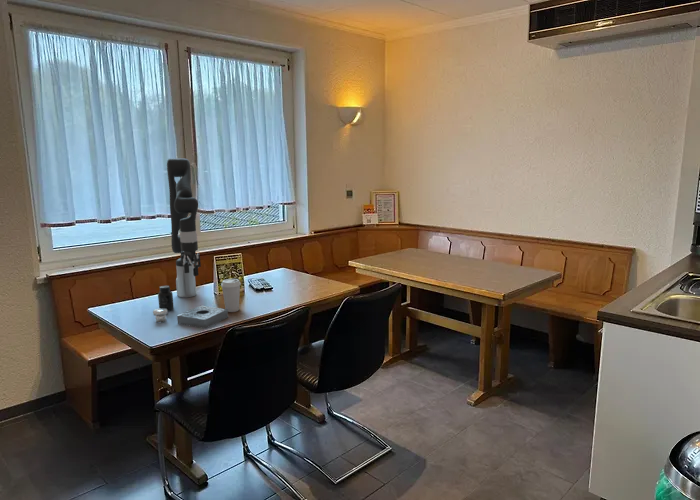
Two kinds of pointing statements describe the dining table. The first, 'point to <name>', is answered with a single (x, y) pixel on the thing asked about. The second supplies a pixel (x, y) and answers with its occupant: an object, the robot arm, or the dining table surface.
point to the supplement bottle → (165, 298)
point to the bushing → (160, 314)
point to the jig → (202, 316)
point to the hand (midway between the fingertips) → (191, 274)
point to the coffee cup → (231, 294)
